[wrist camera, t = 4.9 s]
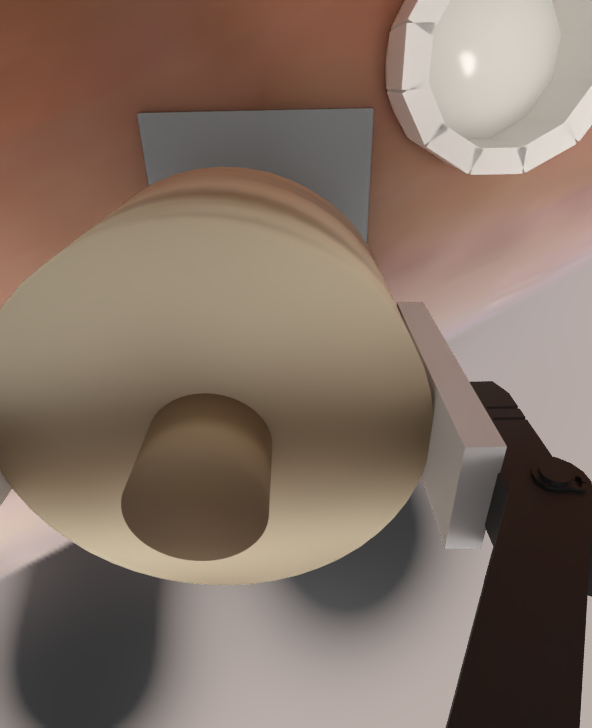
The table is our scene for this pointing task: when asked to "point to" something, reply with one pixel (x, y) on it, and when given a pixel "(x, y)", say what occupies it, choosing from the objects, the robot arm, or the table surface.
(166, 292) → the beige round piece
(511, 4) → the bowl
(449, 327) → the table surface
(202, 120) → the mat
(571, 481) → the robot arm
